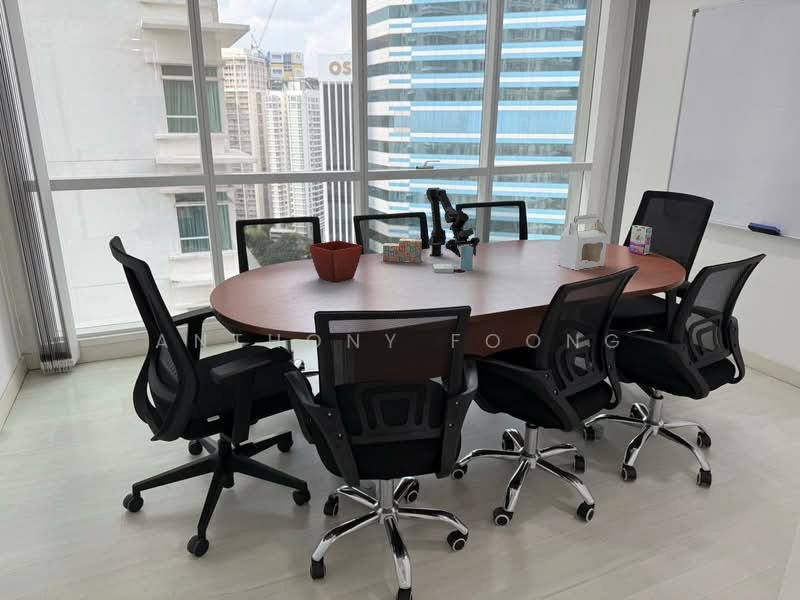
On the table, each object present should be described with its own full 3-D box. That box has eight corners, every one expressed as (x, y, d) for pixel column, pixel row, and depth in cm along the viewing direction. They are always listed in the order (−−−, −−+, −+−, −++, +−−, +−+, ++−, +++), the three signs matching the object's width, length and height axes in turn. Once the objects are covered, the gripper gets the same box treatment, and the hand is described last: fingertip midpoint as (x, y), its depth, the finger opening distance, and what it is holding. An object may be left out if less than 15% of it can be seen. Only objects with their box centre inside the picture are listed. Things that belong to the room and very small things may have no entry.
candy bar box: (649, 254, 342) (653, 227, 337) (643, 255, 340) (647, 228, 335) (634, 251, 352) (637, 224, 347) (628, 251, 349) (631, 225, 344)
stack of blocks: (382, 261, 322) (382, 240, 318) (384, 259, 328) (384, 237, 324) (420, 262, 320) (421, 241, 316) (421, 260, 325) (422, 238, 322)
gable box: (574, 271, 304) (580, 218, 296) (556, 265, 315) (561, 215, 307) (604, 266, 315) (610, 215, 306) (585, 261, 326) (591, 212, 317)
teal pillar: (460, 268, 308) (461, 246, 304) (467, 267, 309) (468, 245, 306) (464, 270, 304) (465, 248, 300) (472, 269, 306) (473, 247, 302)
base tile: (432, 267, 309) (432, 263, 308) (451, 267, 309) (451, 263, 309) (434, 272, 299) (434, 268, 299) (453, 272, 300) (453, 268, 299)
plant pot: (339, 271, 300) (338, 239, 295) (363, 278, 287) (363, 245, 282) (309, 277, 287) (308, 244, 282) (333, 285, 274) (332, 251, 269)
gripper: (448, 224, 300) (458, 249, 293) (479, 222, 307) (489, 246, 301) (441, 236, 309) (450, 261, 302) (471, 234, 316) (480, 258, 310)
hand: (467, 256), depth 304 cm, fingers open, 9 cm apart
